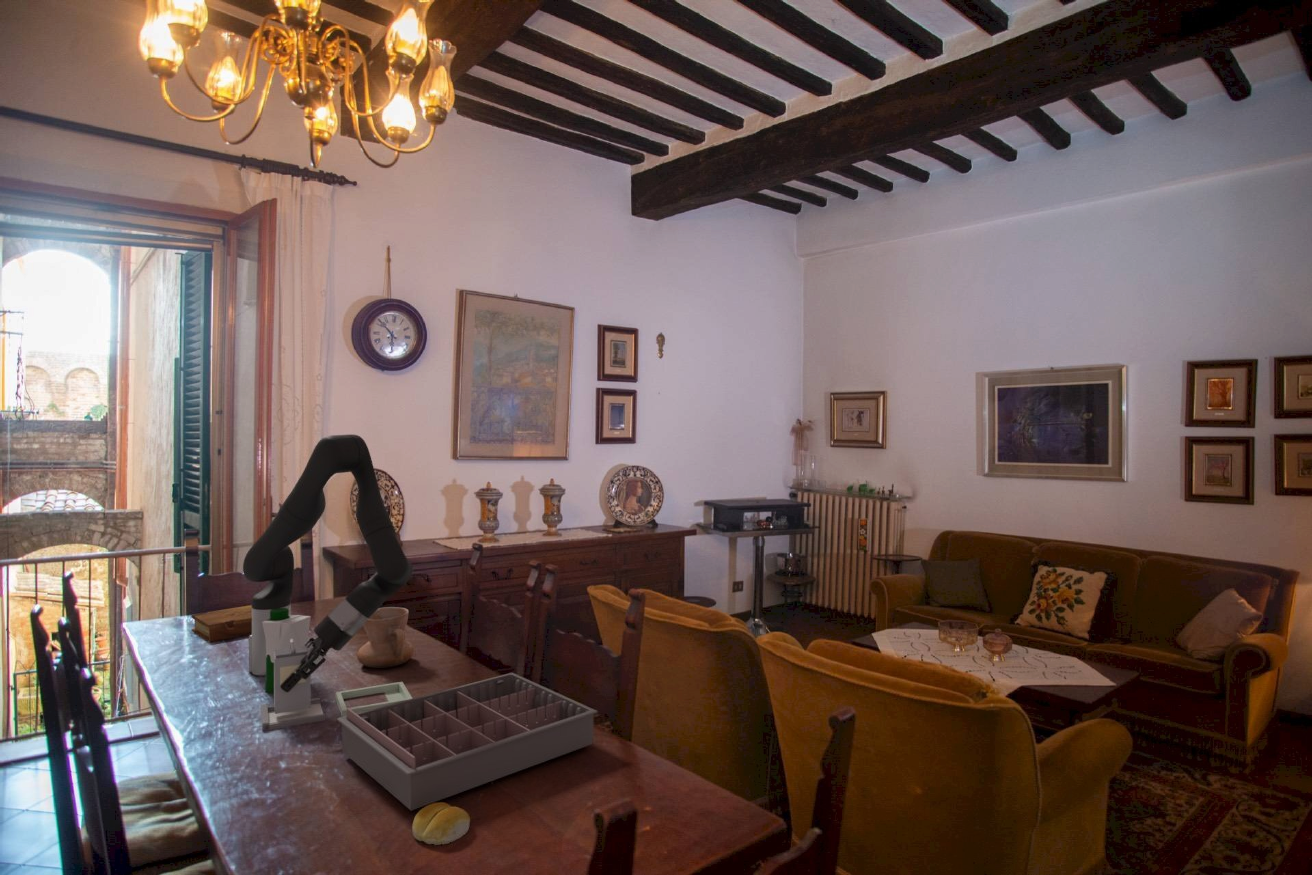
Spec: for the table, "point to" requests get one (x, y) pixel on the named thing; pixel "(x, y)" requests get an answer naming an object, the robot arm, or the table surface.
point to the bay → (291, 716)
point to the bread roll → (440, 824)
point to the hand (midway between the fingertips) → (283, 685)
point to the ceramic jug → (386, 639)
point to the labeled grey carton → (283, 669)
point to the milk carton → (282, 637)
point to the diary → (224, 623)
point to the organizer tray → (463, 736)
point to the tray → (391, 691)
